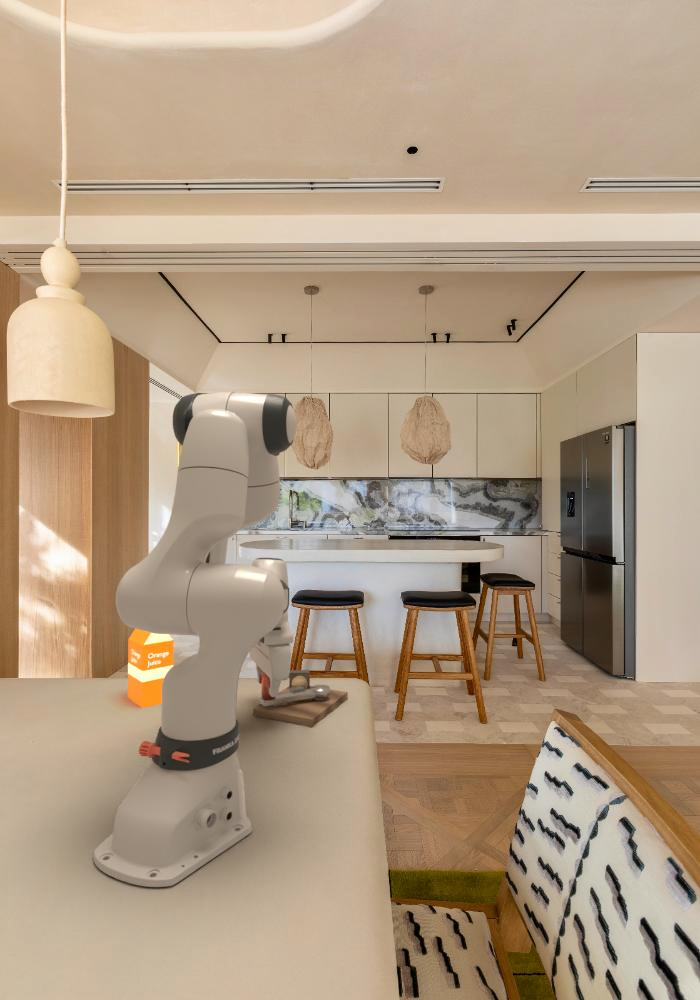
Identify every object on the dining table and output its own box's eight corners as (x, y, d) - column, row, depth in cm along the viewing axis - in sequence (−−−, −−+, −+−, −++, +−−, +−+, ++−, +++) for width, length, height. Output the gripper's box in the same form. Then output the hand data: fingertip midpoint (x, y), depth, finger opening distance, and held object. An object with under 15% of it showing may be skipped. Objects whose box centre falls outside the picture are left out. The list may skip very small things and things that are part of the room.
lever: (265, 709, 124) (265, 675, 124) (257, 701, 129) (257, 668, 129) (332, 697, 132) (333, 665, 132) (322, 690, 137) (323, 659, 137)
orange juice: (141, 708, 129) (142, 621, 129) (127, 697, 136) (128, 615, 136) (173, 700, 135) (174, 617, 135) (158, 690, 141) (159, 611, 141)
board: (312, 727, 120) (312, 701, 120) (252, 715, 126) (253, 690, 126) (347, 698, 138) (347, 675, 138) (294, 689, 144) (294, 667, 144)
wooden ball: (302, 696, 135) (303, 679, 135) (288, 693, 137) (288, 677, 137) (310, 690, 139) (310, 674, 139) (296, 688, 140) (296, 672, 140)
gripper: (243, 620, 135) (242, 677, 135) (267, 639, 117) (266, 705, 117) (268, 618, 138) (268, 674, 138) (296, 637, 119) (295, 701, 119)
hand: (267, 689), depth 127 cm, fingers open, 8 cm apart
